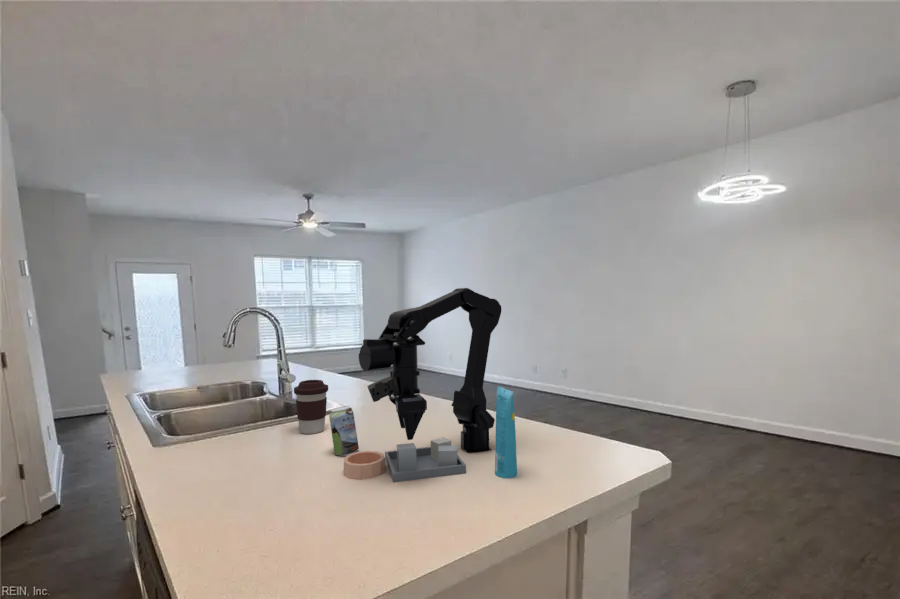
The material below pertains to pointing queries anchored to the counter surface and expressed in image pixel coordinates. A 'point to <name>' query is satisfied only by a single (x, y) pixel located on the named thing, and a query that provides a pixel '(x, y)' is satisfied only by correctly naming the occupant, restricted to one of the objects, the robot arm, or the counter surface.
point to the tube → (505, 435)
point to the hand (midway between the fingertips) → (406, 433)
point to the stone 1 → (406, 457)
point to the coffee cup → (311, 406)
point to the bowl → (364, 465)
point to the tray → (422, 466)
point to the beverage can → (343, 431)
